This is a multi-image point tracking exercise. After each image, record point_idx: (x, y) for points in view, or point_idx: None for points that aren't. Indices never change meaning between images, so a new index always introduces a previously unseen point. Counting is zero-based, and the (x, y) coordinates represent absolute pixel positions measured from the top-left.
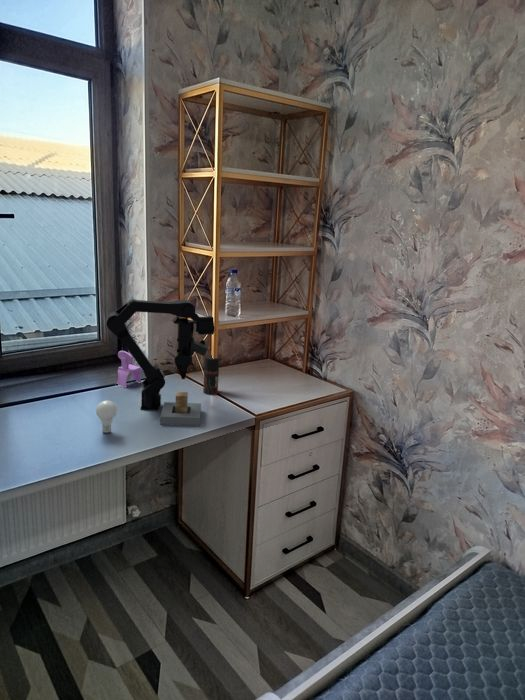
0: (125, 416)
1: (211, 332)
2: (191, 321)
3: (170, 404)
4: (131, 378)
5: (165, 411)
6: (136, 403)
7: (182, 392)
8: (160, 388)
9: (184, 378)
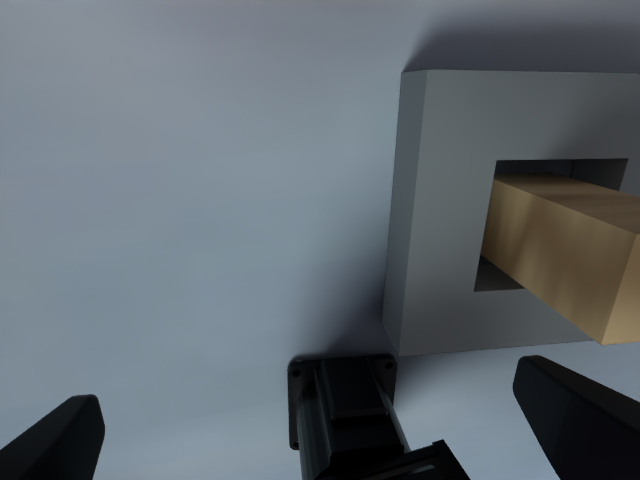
0: (464, 466)
1: None
2: None
3: (441, 313)
4: None
5: (560, 323)
6: (291, 468)
7: (630, 288)
8: (467, 476)
9: (549, 366)
